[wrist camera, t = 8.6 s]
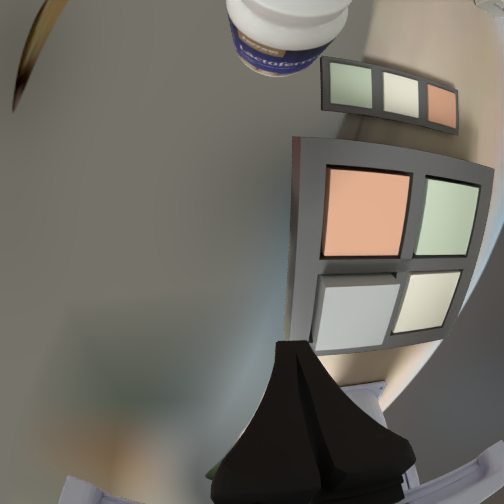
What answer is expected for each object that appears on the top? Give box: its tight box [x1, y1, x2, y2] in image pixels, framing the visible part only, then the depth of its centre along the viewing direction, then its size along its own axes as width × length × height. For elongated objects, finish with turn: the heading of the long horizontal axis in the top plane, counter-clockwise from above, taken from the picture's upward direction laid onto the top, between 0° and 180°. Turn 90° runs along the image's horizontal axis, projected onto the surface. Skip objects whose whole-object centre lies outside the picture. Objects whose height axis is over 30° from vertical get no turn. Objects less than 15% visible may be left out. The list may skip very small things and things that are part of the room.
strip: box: [320, 56, 459, 135], centre depth 16 cm, size 12×4×1 cm, turn 90°
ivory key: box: [392, 269, 460, 333], centre depth 20 cm, size 5×5×3 cm
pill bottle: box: [226, 0, 352, 77], centre depth 10 cm, size 6×6×10 cm
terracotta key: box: [320, 164, 410, 256], centre depth 17 cm, size 5×5×3 cm
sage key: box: [413, 175, 479, 255], centre depth 17 cm, size 5×5×3 cm
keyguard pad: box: [284, 136, 494, 356], centre depth 19 cm, size 16×16×4 cm
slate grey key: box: [310, 272, 400, 351], centre depth 19 cm, size 5×5×3 cm
